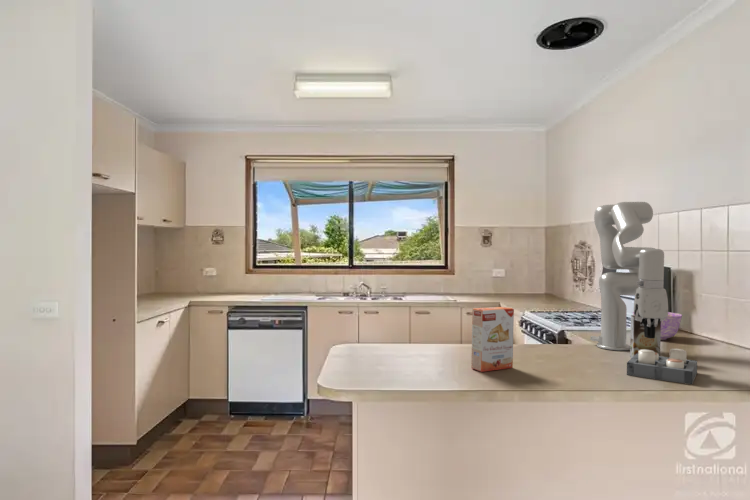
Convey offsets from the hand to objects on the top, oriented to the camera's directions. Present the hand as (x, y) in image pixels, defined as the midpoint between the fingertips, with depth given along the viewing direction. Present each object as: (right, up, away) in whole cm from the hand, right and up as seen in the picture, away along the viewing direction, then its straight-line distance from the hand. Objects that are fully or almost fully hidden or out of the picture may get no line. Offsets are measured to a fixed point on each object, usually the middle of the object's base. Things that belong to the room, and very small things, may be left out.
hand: (649, 337), depth 166 cm
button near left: (-5, -8, -7) cm, 12 cm away
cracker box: (-54, -11, -1) cm, 55 cm away
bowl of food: (+36, -11, +58) cm, 69 cm away
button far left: (0, -10, -1) cm, 10 cm away
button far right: (+6, -8, -6) cm, 12 cm away
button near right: (+1, -10, -12) cm, 16 cm away
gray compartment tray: (0, -11, -7) cm, 13 cm away
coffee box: (+6, -11, +14) cm, 19 cm away
